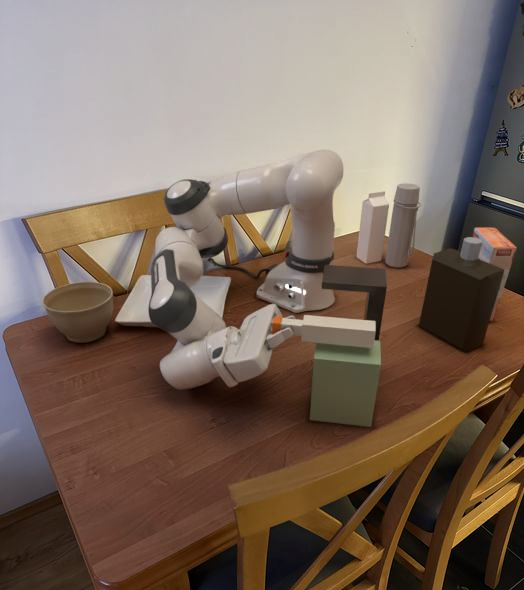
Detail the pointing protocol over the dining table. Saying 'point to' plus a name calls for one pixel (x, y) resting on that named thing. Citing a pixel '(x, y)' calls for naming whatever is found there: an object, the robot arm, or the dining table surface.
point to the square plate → (137, 303)
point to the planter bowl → (80, 310)
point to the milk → (372, 228)
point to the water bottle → (402, 225)
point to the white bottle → (330, 330)
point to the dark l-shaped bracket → (360, 287)
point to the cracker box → (495, 255)
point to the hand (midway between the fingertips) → (293, 325)
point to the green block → (345, 383)
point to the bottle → (460, 295)
